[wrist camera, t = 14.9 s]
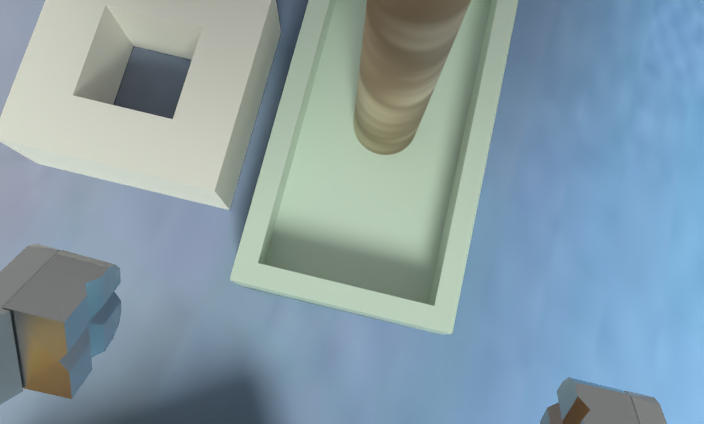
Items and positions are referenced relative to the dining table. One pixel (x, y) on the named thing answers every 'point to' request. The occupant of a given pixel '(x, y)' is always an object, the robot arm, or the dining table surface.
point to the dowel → (401, 67)
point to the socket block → (134, 126)
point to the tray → (374, 177)
